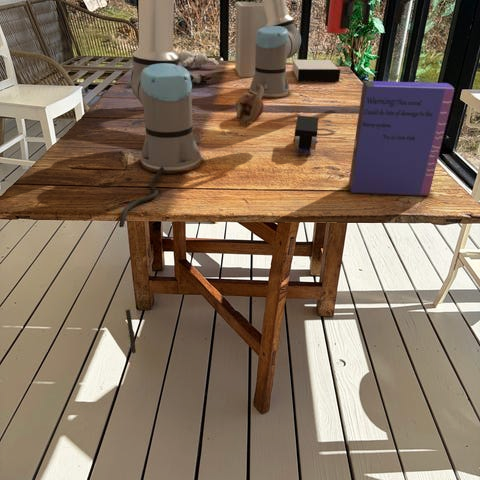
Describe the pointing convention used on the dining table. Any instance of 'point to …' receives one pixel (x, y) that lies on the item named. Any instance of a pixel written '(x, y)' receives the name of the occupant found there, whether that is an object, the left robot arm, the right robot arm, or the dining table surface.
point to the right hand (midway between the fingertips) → (381, 24)
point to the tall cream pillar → (247, 35)
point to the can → (335, 17)
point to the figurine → (200, 78)
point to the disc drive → (316, 70)
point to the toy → (194, 58)
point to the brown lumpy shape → (250, 106)
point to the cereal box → (399, 137)
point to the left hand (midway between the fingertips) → (336, 26)
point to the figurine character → (305, 134)
